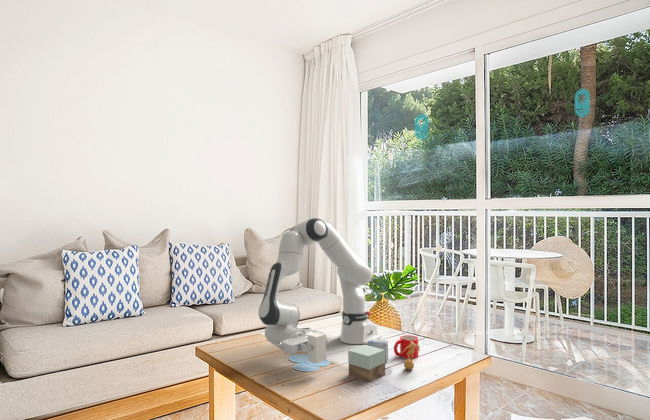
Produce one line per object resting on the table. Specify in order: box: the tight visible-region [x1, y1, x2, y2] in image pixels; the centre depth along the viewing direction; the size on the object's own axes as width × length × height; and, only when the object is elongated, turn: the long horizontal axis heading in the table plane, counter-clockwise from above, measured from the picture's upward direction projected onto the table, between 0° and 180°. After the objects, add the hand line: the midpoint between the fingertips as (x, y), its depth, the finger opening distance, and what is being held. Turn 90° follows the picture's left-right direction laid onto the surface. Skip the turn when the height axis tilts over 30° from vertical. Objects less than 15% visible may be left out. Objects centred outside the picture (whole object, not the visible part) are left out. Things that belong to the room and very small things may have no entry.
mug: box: [393, 334, 419, 360], centre depth 186 cm, size 8×12×8 cm, turn 119°
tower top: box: [347, 344, 386, 370], centre depth 164 cm, size 10×10×5 cm
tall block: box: [307, 332, 327, 364], centre depth 164 cm, size 5×5×10 cm
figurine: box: [402, 341, 421, 371], centre depth 169 cm, size 8×6×12 cm
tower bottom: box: [348, 363, 386, 383], centre depth 164 cm, size 10×10×5 cm
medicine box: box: [367, 338, 389, 364], centre depth 180 cm, size 8×4×9 cm, turn 71°
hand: (318, 346), depth 163 cm, fingers closed on tall block, 5 cm apart
